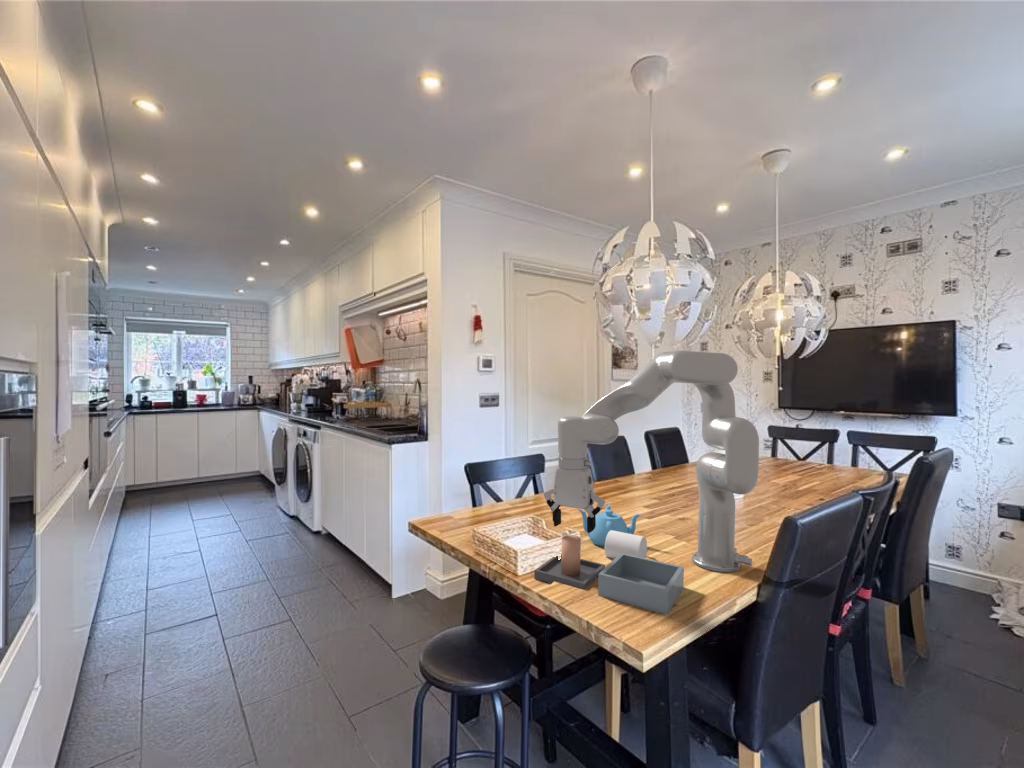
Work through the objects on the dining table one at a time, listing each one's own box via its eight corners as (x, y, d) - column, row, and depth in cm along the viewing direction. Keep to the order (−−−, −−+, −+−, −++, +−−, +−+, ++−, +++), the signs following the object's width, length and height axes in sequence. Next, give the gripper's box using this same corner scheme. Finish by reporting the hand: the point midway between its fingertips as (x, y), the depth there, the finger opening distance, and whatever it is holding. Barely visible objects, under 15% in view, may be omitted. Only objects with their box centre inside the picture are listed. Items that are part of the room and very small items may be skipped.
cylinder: (583, 571, 121) (583, 537, 121) (575, 577, 117) (576, 542, 117) (566, 566, 124) (566, 533, 124) (557, 572, 119) (558, 538, 119)
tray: (605, 572, 122) (605, 564, 122) (584, 593, 111) (584, 584, 111) (558, 560, 130) (558, 553, 130) (534, 578, 118) (534, 570, 118)
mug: (638, 570, 125) (639, 541, 124) (604, 562, 130) (604, 534, 130) (650, 556, 135) (651, 529, 135) (618, 549, 140) (618, 523, 140)
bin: (683, 590, 113) (683, 566, 112) (667, 619, 99) (667, 591, 99) (620, 575, 121) (621, 552, 121) (598, 599, 108) (598, 574, 108)
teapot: (607, 554, 136) (608, 520, 136) (574, 538, 149) (575, 507, 148) (641, 545, 144) (641, 512, 144) (607, 531, 156) (608, 501, 156)
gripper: (609, 464, 118) (610, 529, 119) (550, 458, 128) (551, 519, 128) (598, 469, 112) (599, 538, 112) (537, 463, 121) (538, 526, 122)
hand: (573, 527), depth 120 cm, fingers open, 9 cm apart
